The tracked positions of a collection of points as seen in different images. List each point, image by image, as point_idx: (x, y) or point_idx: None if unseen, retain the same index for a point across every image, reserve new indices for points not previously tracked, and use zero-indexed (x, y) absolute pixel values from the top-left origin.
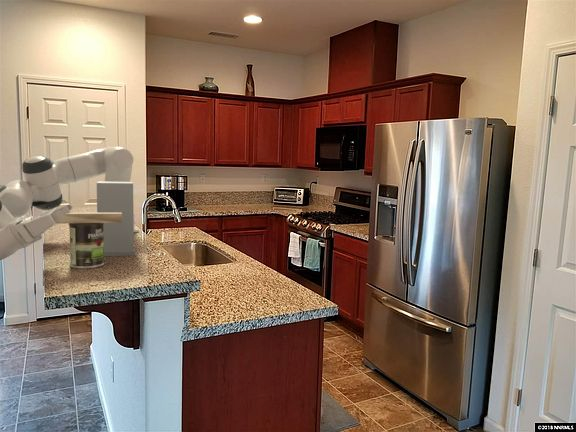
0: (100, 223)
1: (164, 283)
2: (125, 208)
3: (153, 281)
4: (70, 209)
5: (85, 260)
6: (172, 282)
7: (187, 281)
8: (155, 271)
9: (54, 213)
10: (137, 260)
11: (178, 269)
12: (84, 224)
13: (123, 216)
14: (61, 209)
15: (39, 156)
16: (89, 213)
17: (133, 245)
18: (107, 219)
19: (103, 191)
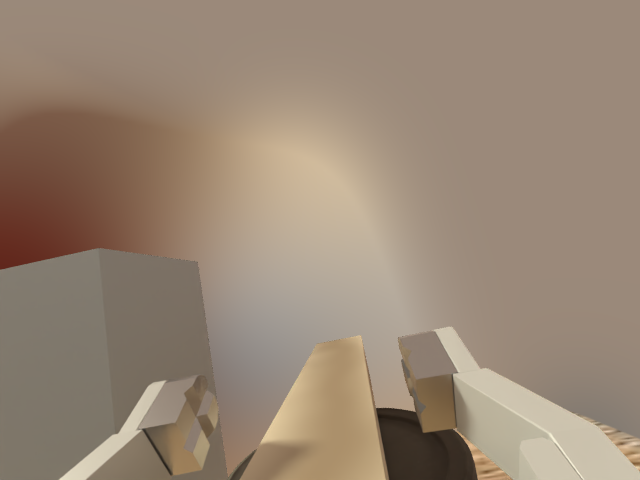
0: (388, 408)
1: (633, 441)
2: (197, 364)
3: (631, 462)
4: (214, 426)
5: None
6: (609, 431)
7: (579, 414)
8: (502, 473)
9: (610, 452)
10: None
11: (464, 439)
12: (424, 453)
13: None
14: (475, 365)
15: None
16: (346, 374)
17: None
18: (369, 377)
19: (129, 297)
